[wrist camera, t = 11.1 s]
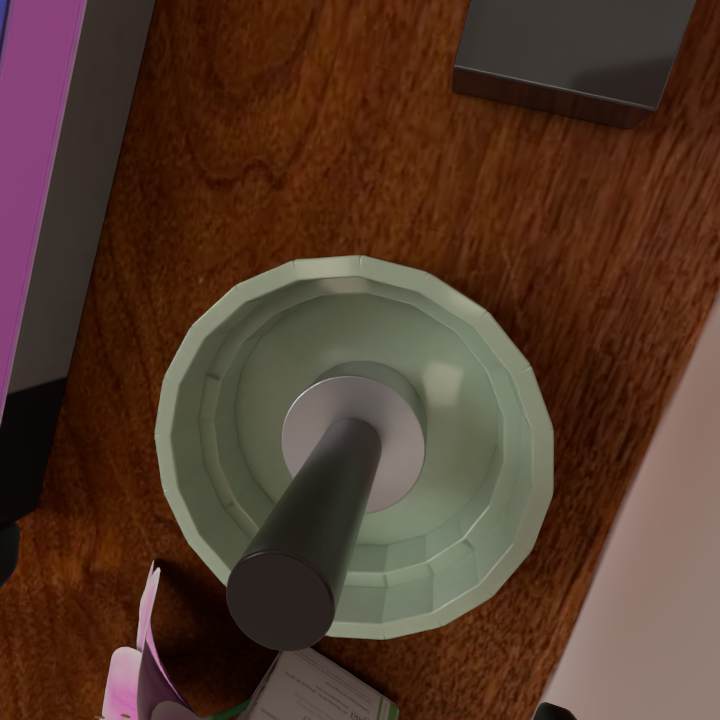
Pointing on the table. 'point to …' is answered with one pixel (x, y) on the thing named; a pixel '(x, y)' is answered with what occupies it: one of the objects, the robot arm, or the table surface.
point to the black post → (327, 500)
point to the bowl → (443, 443)
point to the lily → (148, 677)
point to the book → (53, 203)
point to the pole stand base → (572, 55)
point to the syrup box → (314, 692)
